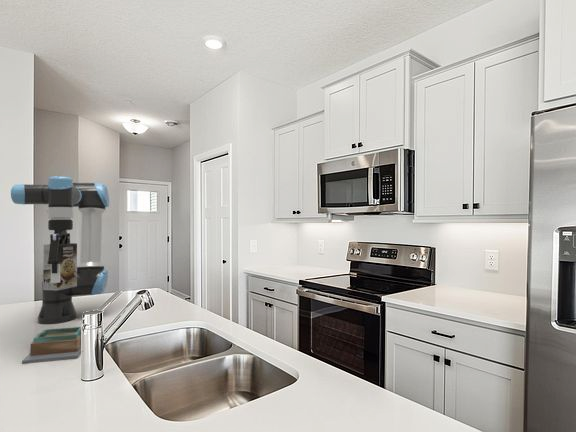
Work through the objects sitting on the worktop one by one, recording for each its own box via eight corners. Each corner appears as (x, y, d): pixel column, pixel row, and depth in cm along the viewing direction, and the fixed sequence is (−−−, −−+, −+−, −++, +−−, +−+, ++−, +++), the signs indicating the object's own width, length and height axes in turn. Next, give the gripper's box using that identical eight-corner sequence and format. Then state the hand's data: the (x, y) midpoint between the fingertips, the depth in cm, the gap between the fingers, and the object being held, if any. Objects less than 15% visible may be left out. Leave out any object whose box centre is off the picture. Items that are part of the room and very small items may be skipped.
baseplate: (44, 343, 138) (44, 340, 138) (91, 339, 142) (91, 336, 142) (21, 364, 118) (21, 360, 118) (77, 358, 123) (77, 355, 123)
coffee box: (57, 290, 127) (57, 244, 128) (42, 290, 129) (42, 244, 129) (78, 286, 136) (77, 242, 137) (63, 285, 138) (63, 242, 138)
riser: (43, 344, 134) (43, 329, 134) (86, 340, 138) (85, 325, 138) (30, 356, 122) (30, 339, 122) (77, 351, 126) (77, 335, 126)
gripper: (59, 219, 143) (59, 276, 143) (36, 218, 121) (36, 286, 120) (80, 219, 145) (80, 275, 145) (62, 218, 123) (62, 284, 123)
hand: (60, 280), depth 133 cm, fingers closed on coffee box, 10 cm apart
